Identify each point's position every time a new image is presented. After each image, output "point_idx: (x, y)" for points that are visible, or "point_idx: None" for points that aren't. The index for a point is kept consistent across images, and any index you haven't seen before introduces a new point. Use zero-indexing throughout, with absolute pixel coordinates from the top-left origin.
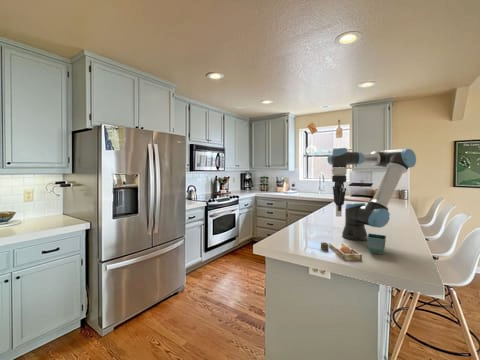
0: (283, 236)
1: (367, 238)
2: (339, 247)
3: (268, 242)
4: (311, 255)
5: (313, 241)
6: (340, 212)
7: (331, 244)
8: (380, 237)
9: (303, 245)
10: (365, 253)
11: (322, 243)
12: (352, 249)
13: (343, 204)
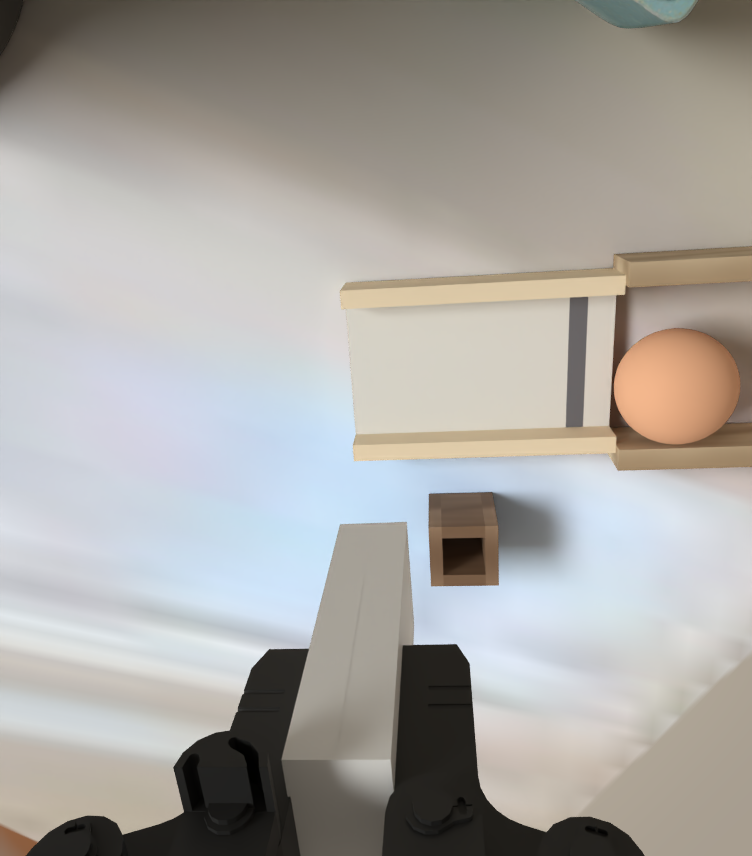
0: (56, 781)
1: (676, 21)
2: (437, 360)
3: None
4: (635, 680)
5: (183, 552)
6: (404, 610)
7: (417, 455)
8: None
9: None
10: (611, 86)
11: (470, 580)
12: (651, 285)
13: (610, 826)
